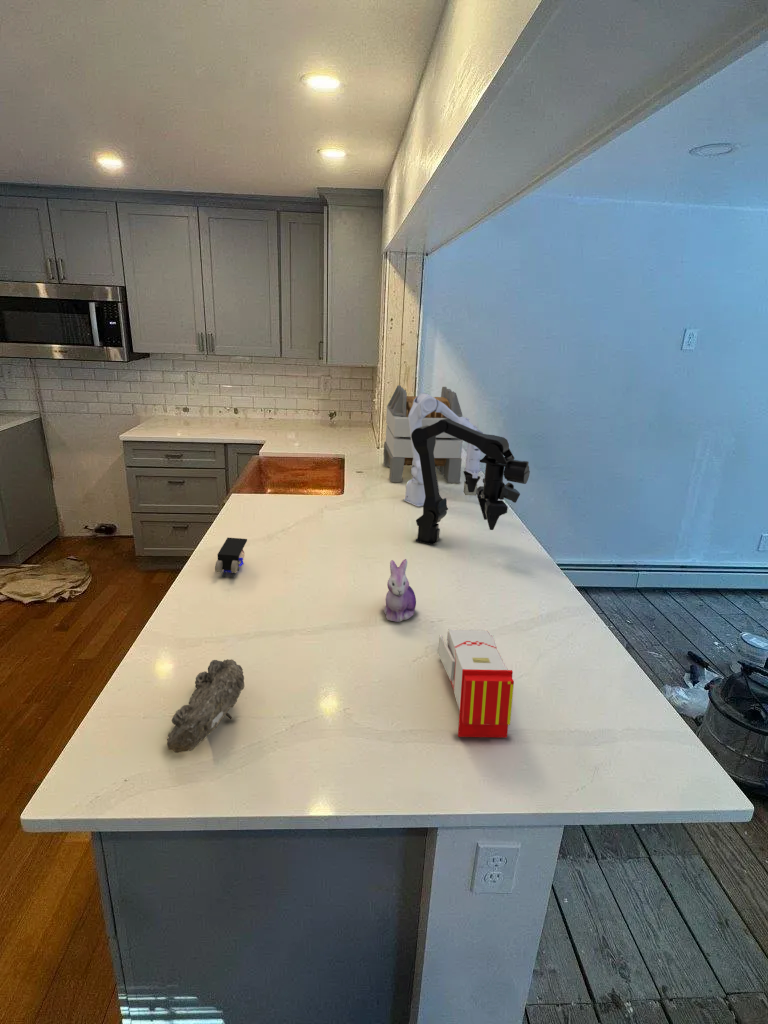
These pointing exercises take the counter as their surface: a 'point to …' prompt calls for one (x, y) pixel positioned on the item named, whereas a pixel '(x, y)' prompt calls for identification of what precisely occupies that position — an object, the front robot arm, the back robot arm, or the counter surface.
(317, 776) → the counter surface
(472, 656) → the toy
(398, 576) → the figurine
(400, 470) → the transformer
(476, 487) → the block
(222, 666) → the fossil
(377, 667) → the counter surface
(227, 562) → the black wheeled box
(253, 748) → the counter surface
